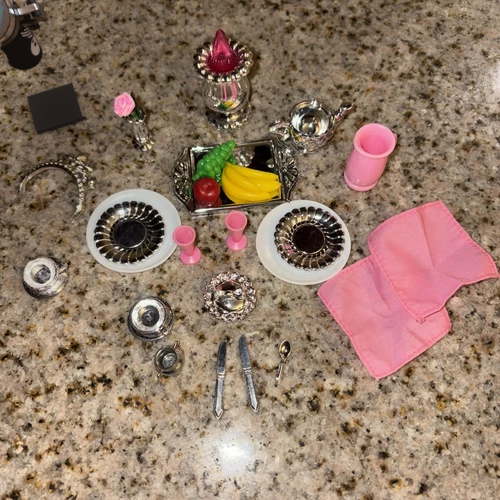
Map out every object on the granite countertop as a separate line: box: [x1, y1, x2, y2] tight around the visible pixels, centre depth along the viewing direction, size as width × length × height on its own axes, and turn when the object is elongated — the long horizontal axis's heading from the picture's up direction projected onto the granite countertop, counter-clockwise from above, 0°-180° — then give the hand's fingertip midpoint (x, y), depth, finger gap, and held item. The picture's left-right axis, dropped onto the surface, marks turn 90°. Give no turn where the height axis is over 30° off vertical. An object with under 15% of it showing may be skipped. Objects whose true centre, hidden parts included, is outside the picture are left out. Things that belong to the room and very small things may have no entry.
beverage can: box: [0, 0, 44, 71], centre depth 86 cm, size 7×7×12 cm
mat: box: [26, 82, 84, 135], centre depth 106 cm, size 10×10×1 cm
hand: (12, 29), depth 89 cm, fingers closed on beverage can, 6 cm apart
